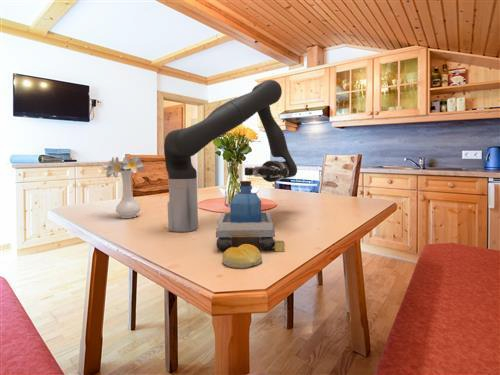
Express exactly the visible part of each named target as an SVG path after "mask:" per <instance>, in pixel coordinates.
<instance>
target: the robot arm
mask: <svg viewBox="0 0 500 375" xmlns="http://www.w3.org/2000/svg"><path fill="white" fill-rule="evenodd" d="M282 92H283V90H282V86H281V85H280V83H279V82H278V81H276V80H274V79H268V80H264V81H262V82H261V83H259V84H257V85H255V86H254V87H253V88H252V90H251V91H250V92H248V93H245V94H243V95H239V96H238V97H237V96H236V98H233V99H231V100H229V101H226V102H224V103H223V104H220V105H219V106H217V107H216V108H214V110H212V111H211V112H210V114H208V116H206V118H204V119H203V120H201V121H199V122H197V123H194V124H192V125H190V126H188V127H185V128H184V127H183V128H180V129H175V130H172V131H170V132H168V133H167V135H166V136H165V138H164V142H163V144H164V147H163V148H164V162H165V163H164V164H165V169H166V172H167V176H168V199H169V200H168V202H167V219H168V220H167V221H168V222H167V223H168V227H167V228H168V231H169V232H177V233H185V232H186V233H187V232H193V231H196V230H198V229H199V209H198V208H199V207H198V206H199V205H198V204H199V203H198V178H197V177H198V175H197V174H198V172H197V169H196V168H195V167H194V166H193V164H192V159H191V158H192V157H193V156H195V155H196V154H197V153H199V152H200V151H201V150H202V149H204V148H205V147H206V146H208V145H209V144H210V143H212V142H213V141H214V140H215V139H218V138H219V137H221V136H223V135H226V134H228V132H230V131H232V130H234V129H235V128H237V127H238V126H240V125H242V124H243V123H244V122H246V121H247V120H249V119H250V118H251V117H253V116H254V115H255V114H256V113H257V115H258V117H259V119H260V122H261V123H262V124H261V125H262V127H263V129H264V132H265V135H266V138H267V141H268V145H269V149H270V153H271V156H272V157H273V158H282V159H283V160H284V161H280V160H267V161H265V162H264V163H263V164H262V165H260V166H254V167H253V166H251V167H244V176H249V177H250V176H251V177H252V176H254V177H257V178H258V177H260V178H262V179H263V180H264V181H266V182H269V183H274V182H278V181H281V180H284V179H288V178H293V177H295V176H296V175H297V173H298V166H297V164H296V163H295V161H294V159H293V157H292V155H291V153H290V151H289V148H288V145H287V144H288V143H287V141H286V137H285V136H286V135H285V134H284V131H283V130H282V128H281V127H280V125H279V123H277V121H276V120H275V118H274V116H273V114H272V110H271V106H272V105H273V104H277V102H278V101H280V98H281V97H282V94H283V93H282Z"/></svg>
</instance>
